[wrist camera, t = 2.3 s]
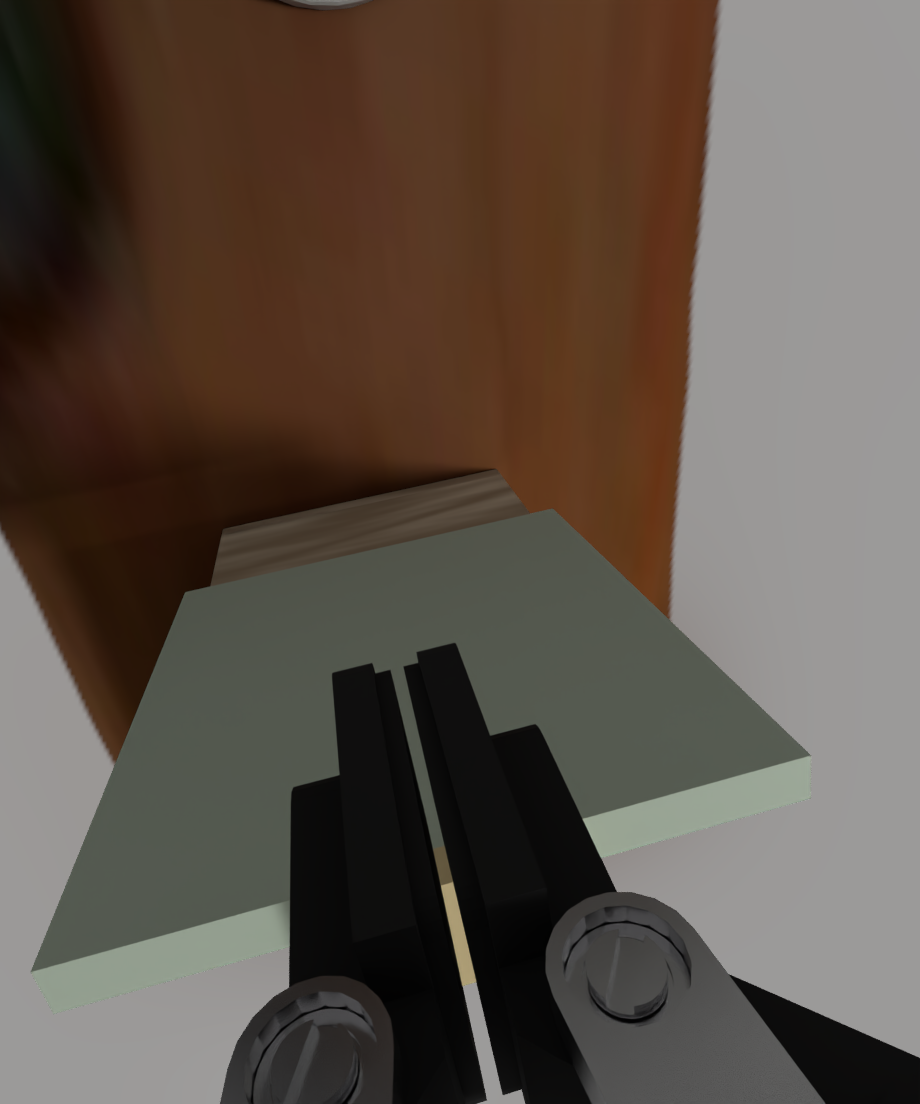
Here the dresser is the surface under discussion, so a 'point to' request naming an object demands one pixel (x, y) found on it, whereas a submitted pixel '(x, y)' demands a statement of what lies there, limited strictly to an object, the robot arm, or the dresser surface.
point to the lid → (389, 644)
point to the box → (364, 525)
